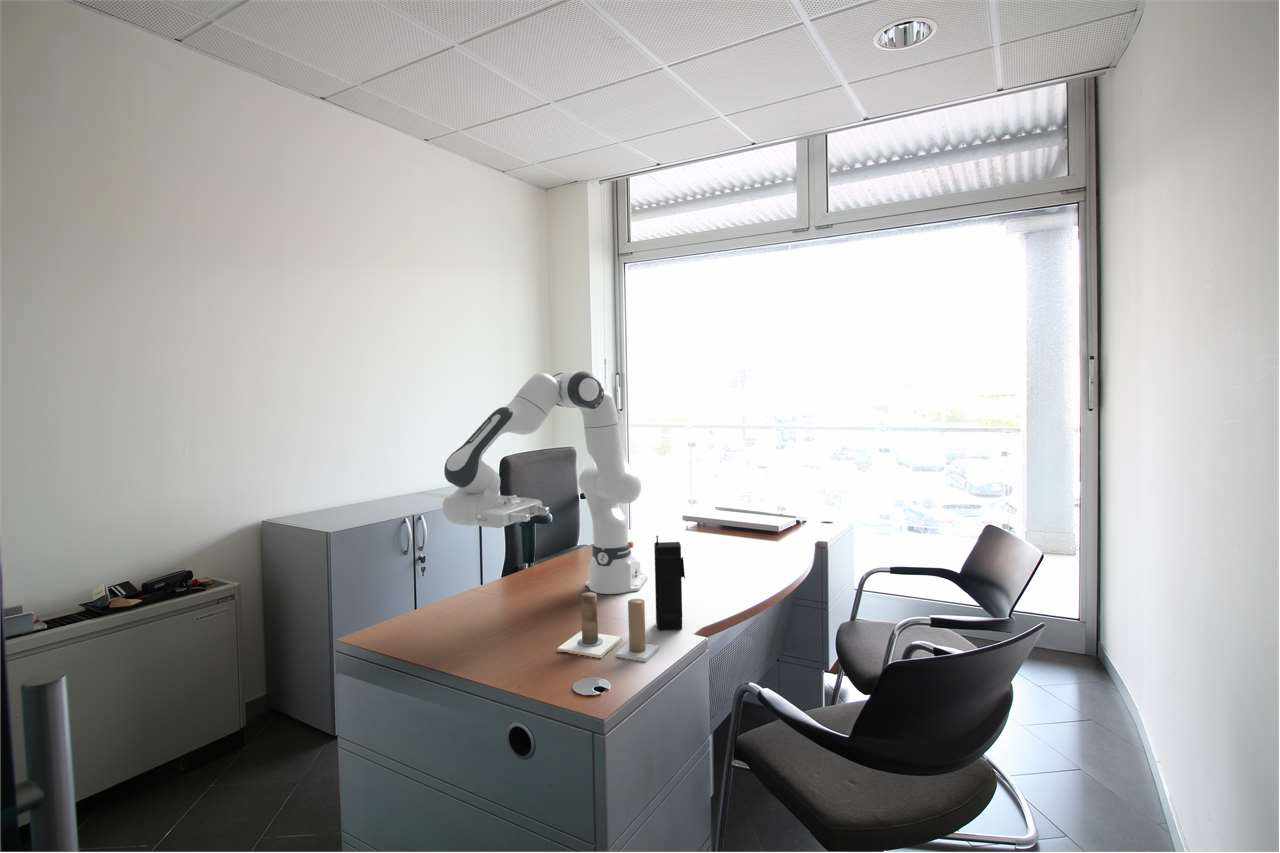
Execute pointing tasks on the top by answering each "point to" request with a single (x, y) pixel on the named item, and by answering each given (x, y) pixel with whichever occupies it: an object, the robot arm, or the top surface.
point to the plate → (595, 650)
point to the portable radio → (668, 585)
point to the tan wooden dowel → (637, 634)
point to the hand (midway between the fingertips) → (538, 514)
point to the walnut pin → (589, 618)
